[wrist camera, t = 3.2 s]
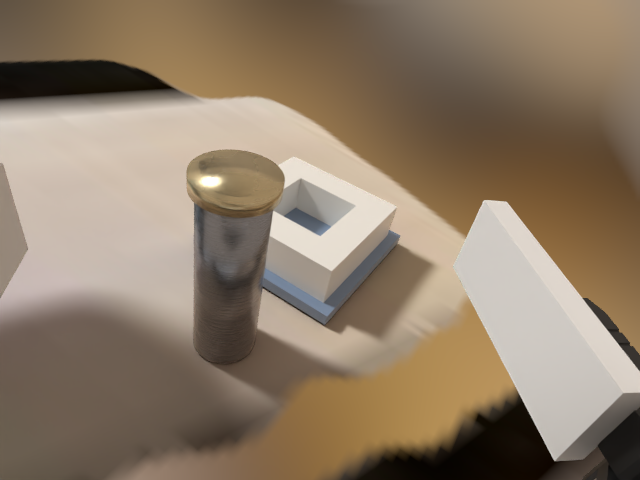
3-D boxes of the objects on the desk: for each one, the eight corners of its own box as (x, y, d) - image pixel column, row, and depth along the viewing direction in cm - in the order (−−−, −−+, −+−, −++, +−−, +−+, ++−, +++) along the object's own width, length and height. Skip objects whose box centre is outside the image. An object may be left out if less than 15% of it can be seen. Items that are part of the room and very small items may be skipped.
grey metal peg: (171, 341, 32) (164, 171, 23) (222, 300, 36) (232, 140, 27) (227, 382, 30) (242, 214, 22) (274, 335, 34) (303, 176, 25)
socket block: (193, 243, 40) (194, 202, 37) (285, 185, 50) (291, 149, 47) (324, 324, 36) (336, 284, 33) (397, 243, 46) (410, 207, 43)
